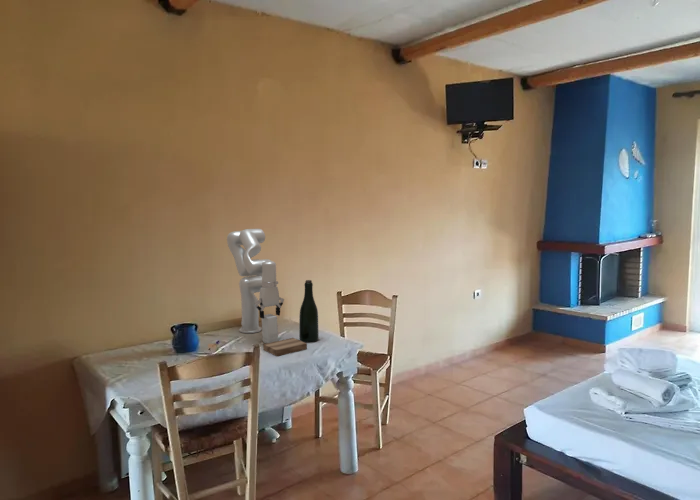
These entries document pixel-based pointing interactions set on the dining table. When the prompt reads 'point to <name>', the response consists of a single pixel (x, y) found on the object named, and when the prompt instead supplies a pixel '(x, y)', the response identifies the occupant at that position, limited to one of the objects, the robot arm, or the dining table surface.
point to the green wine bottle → (308, 316)
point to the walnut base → (285, 346)
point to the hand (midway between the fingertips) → (270, 316)
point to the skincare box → (269, 328)
